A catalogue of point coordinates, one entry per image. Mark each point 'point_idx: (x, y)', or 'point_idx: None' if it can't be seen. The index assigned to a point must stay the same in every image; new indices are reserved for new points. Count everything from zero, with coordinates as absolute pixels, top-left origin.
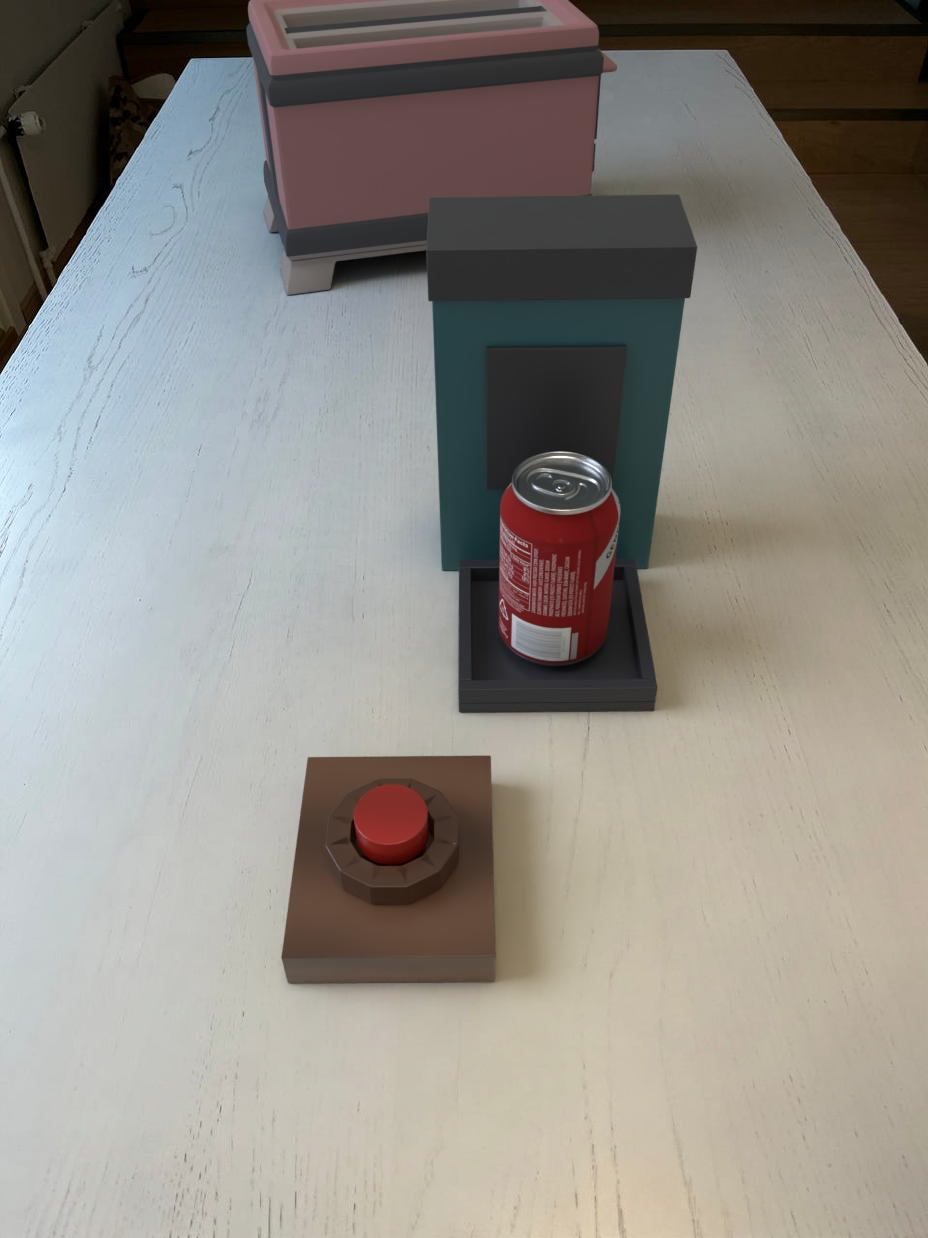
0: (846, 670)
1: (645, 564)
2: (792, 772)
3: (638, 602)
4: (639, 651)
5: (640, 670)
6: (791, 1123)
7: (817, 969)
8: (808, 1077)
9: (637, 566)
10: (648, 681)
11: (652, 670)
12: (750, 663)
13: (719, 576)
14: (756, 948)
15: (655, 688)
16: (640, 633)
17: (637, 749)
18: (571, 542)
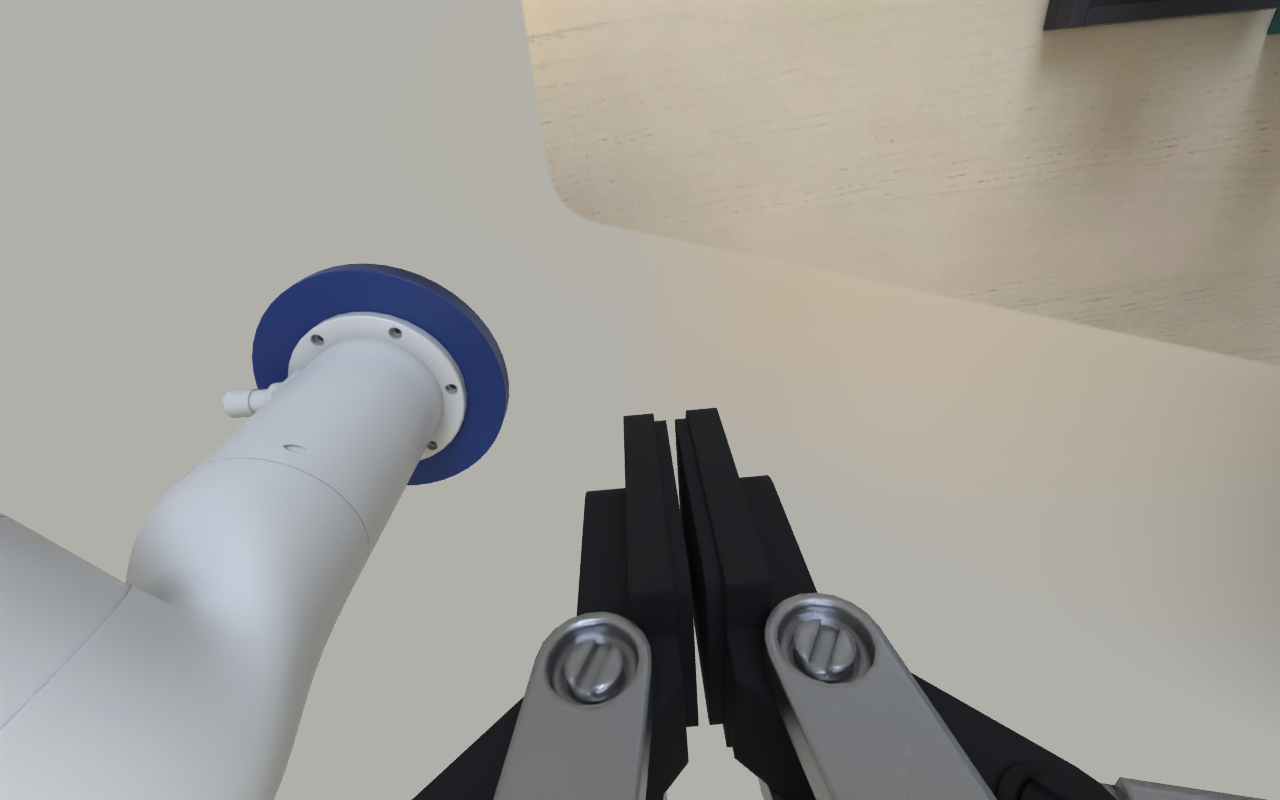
0: (1038, 248)
1: (1275, 29)
2: (933, 178)
3: (1213, 7)
4: (1132, 4)
5: (1102, 6)
6: (614, 131)
7: (738, 171)
8: (650, 150)
9: (1276, 18)
10: (1082, 14)
11: (1097, 21)
12: (1076, 152)
13: (1214, 130)
14: (758, 119)
15: (1069, 24)
16: (1160, 7)
17: (995, 6)
18: None
